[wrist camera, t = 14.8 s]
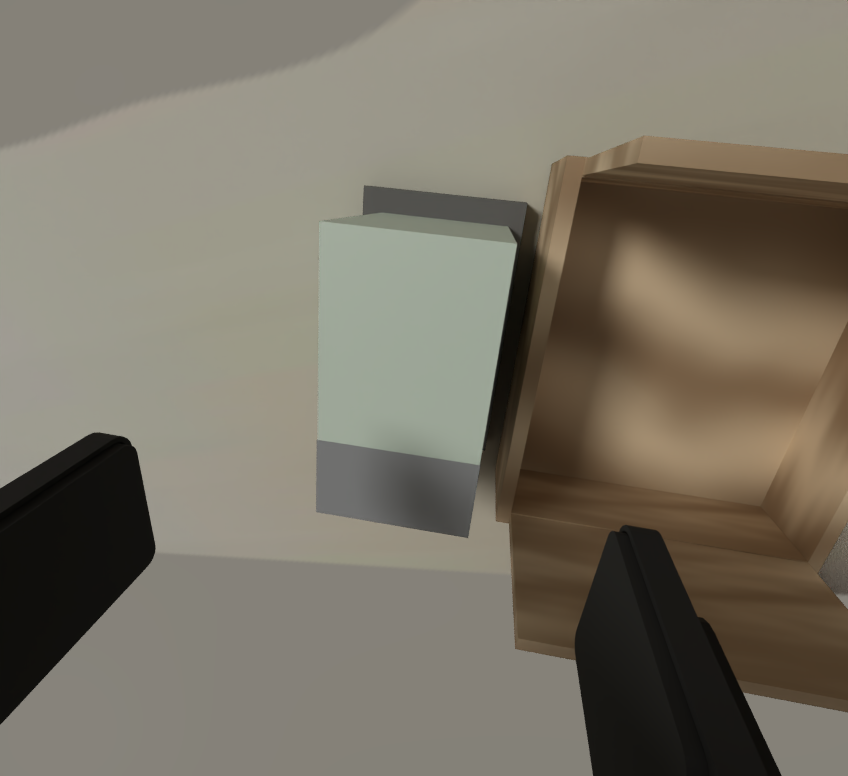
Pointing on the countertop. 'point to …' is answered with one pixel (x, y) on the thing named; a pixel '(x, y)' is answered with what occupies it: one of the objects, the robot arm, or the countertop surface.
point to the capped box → (407, 365)
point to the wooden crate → (688, 398)
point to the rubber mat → (457, 211)
